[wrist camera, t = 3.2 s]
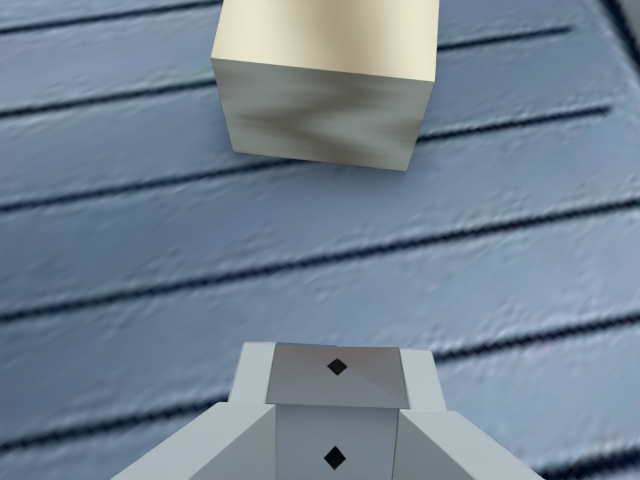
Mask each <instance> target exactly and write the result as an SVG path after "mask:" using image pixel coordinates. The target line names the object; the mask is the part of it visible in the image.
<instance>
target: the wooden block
mask: <svg viewBox="0 0 640 480" xmlns="http://www.w3.org/2000/svg"><path fill="white" fill-rule="evenodd" d="M438 12H439V0H224V3H223V7H222V11H221V16H220V20H219V24H218V28H217V33H216V37H215V41H214V45H213V50H212V54H211V61H212V65H213V70H214V74H215V78H216V82H217V86H218V90H219V94H220V98H221V103H222V107H223V111H224V115H225V119H226V123H227V127H228V132H229V136H230V140H231V144H232V148H233V152H238V153H247V154H256V155H265V156H274V157H283V158H292V159H301V160H310V161H319V162H328V163H337V164H346V165H355V166H364V167H373V168H382V169H391V170H400V171H407V168H408V165H409V162H410V158H411V155H412V152H413V149H414V146H415V143H416V139H417V136H418V133H419V130H420V127H421V123H422V120H423V117H424V114H425V111H426V108H427V104H428V101H429V98H430V95H431V92H432V89H433V85H434V82H435V67H436V49H437V31H438Z"/></svg>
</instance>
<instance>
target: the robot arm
mask: <svg viewBox="0 0 640 480" xmlns="http://www.w3.org/2000/svg"><path fill="white" fill-rule="evenodd" d="M110 480H544V479H543V478H541V477H540V476H539V475H538V474H536V473H535V472H534V471H533V470H531V469H530V468H529V467H527V466H526V465H525V464H524V463H522V462H521V461H520V460H518V459H517V458H516V457H515V456H513V455H512V454H511V453H510V452H508V451H507V450H506V449H504V448H503V447H502V446H501V445H499V444H498V443H497V442H495V441H494V440H493V439H492V438H490V437H489V436H488V435H487V434H485V433H484V432H483V431H481V430H480V429H479V428H478V427H476V426H475V425H474V424H472V423H471V422H470V421H469V420H467V419H466V418H465V417H464V416H462V415H461V414H460V413H458V412H454V411H448V409H447V405H446V402H445V398H444V395H443V391H442V387H441V384H440V380H439V377H438V373H437V369H436V366H435V362H434V359H433V355H432V351H431V350H430V349H429V348H428V347H398V348H395V347H337V346H333V345H316V344H299V343H282V342H277V344H276V343H275V342H264V341H246V342H245V343H244V344H243V346H242V350H241V354H240V357H239V361H238V365H237V369H236V372H235V376H234V380H233V383H232V387H231V391H230V394H229V398H228V402H218V403H216V404H215V405H214V406H212V407H211V408H209V409H208V410H207V411H205V412H204V413H202V414H201V415H200V416H198V417H197V418H195V419H194V420H193V421H191V422H190V423H188V424H187V425H186V426H184V427H183V428H181V429H180V430H179V431H177V432H176V433H174V434H173V435H172V436H170V437H169V438H167V439H166V440H165V441H163V442H162V443H160V444H159V445H158V446H156V447H155V448H153V449H152V450H151V451H149V452H148V453H147V454H145V455H144V456H142V457H141V458H140V459H138V460H137V461H135V462H134V463H133V464H131V465H130V466H128V467H127V468H126V469H124V470H123V471H121V472H120V473H119V474H117V475H116V476H114V477H113V478H112V479H110Z"/></svg>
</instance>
